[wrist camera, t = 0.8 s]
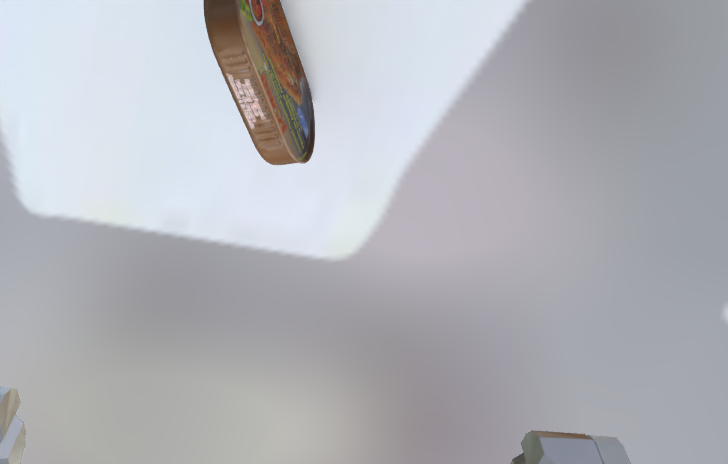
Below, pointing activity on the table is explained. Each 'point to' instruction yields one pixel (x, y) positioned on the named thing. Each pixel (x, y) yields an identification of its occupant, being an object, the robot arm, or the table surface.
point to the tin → (263, 76)
